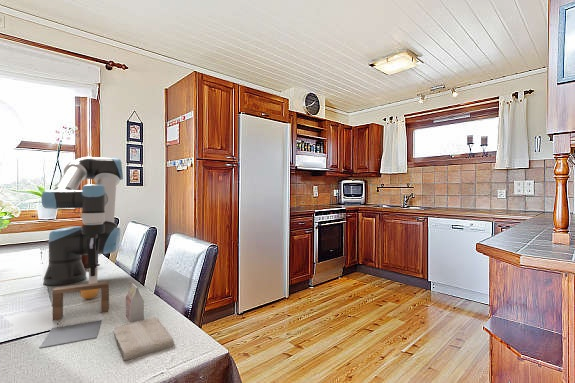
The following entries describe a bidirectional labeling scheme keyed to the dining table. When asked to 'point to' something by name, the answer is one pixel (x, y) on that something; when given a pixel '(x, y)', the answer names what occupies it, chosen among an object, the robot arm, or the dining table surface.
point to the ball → (89, 293)
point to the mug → (84, 260)
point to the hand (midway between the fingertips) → (93, 283)
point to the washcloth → (142, 338)
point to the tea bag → (134, 305)
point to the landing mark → (71, 333)
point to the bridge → (60, 290)
